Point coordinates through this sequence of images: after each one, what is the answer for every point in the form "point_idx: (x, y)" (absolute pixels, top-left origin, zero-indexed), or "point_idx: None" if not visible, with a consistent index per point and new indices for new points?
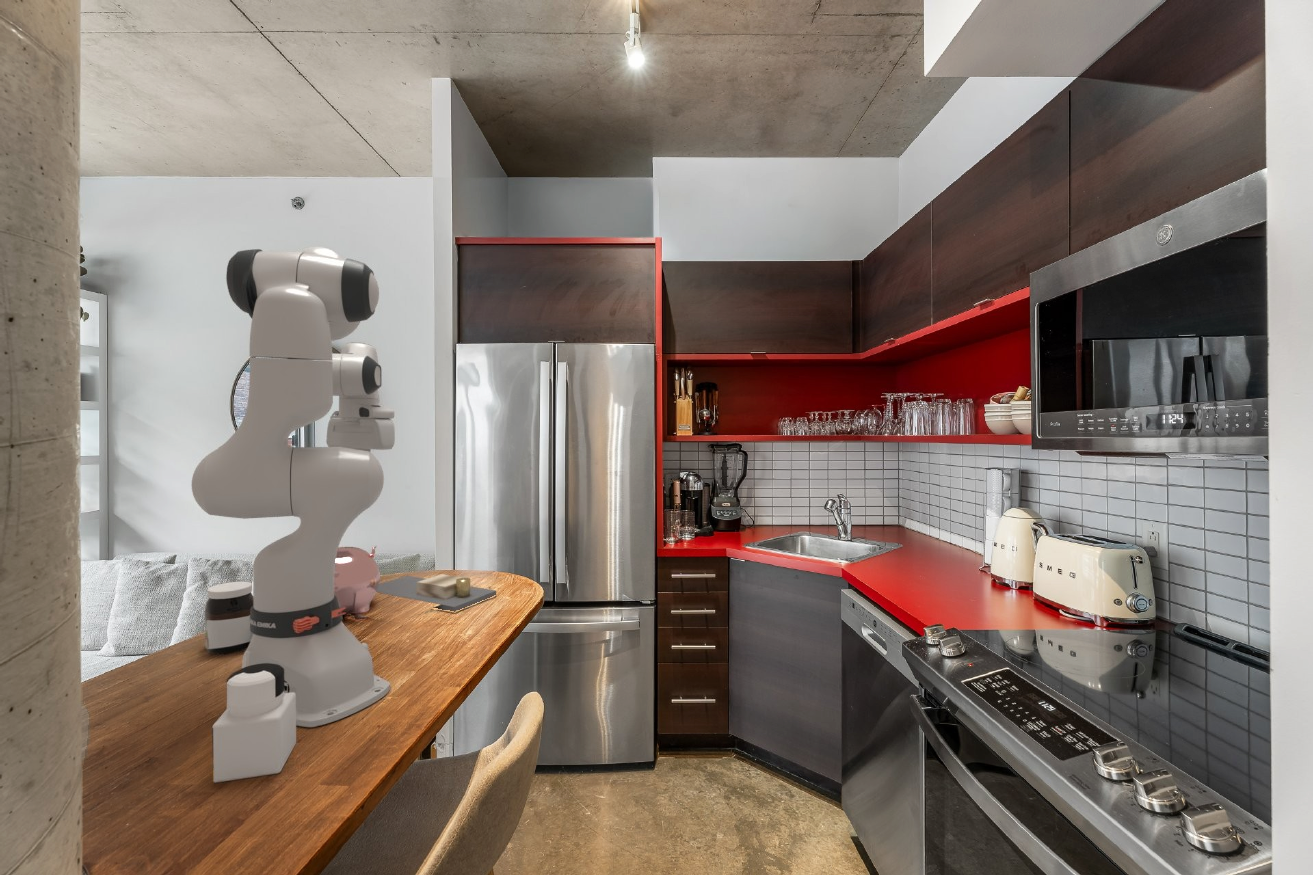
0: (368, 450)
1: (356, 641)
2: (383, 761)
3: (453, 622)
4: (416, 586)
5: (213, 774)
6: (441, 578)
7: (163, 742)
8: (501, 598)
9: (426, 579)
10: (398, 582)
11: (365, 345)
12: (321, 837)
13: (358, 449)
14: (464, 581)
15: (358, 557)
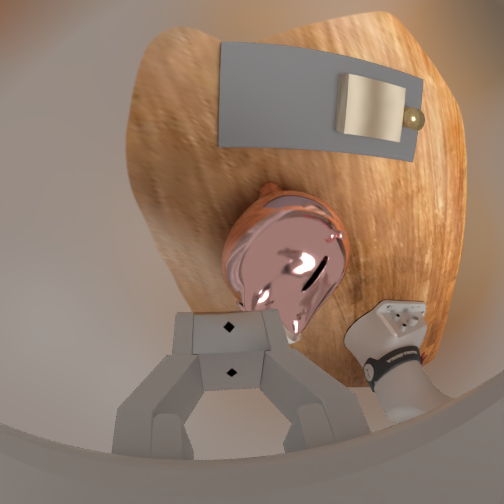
0: (358, 430)
1: (423, 335)
2: (440, 331)
3: (418, 186)
4: (300, 92)
5: None
6: (367, 100)
7: (348, 374)
8: (426, 85)
9: (348, 114)
10: (246, 84)
11: None
12: (435, 354)
13: (184, 457)
14: (421, 127)
15: (343, 272)
